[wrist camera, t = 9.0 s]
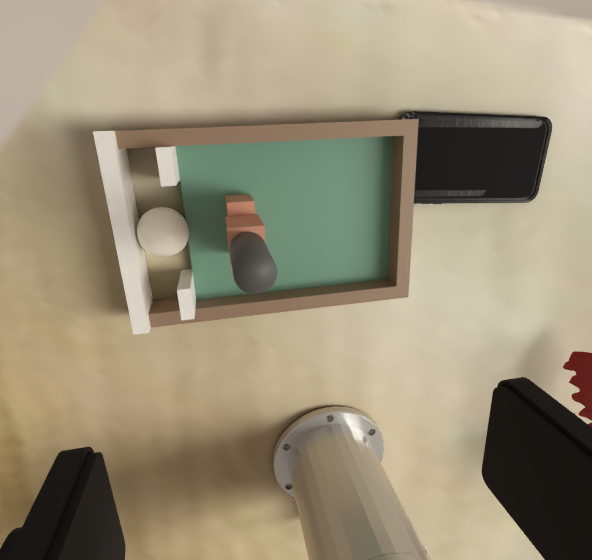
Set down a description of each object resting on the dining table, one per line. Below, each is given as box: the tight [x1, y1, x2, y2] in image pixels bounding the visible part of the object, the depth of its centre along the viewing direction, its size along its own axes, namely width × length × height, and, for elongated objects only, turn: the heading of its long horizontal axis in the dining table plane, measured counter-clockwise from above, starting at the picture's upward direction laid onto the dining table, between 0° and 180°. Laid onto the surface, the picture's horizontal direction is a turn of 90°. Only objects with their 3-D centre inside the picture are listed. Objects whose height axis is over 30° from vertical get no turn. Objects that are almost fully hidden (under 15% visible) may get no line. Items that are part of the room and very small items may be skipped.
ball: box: [137, 207, 189, 257], centre depth 32 cm, size 4×4×4 cm
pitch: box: [93, 119, 419, 335], centre depth 33 cm, size 15×24×5 cm, turn 92°
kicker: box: [225, 194, 277, 294], centre depth 28 cm, size 5×2×13 cm, turn 2°
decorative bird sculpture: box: [563, 352, 592, 427], centre depth 48 cm, size 28×9×15 cm
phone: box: [399, 111, 552, 204], centre depth 37 cm, size 8×1×15 cm
